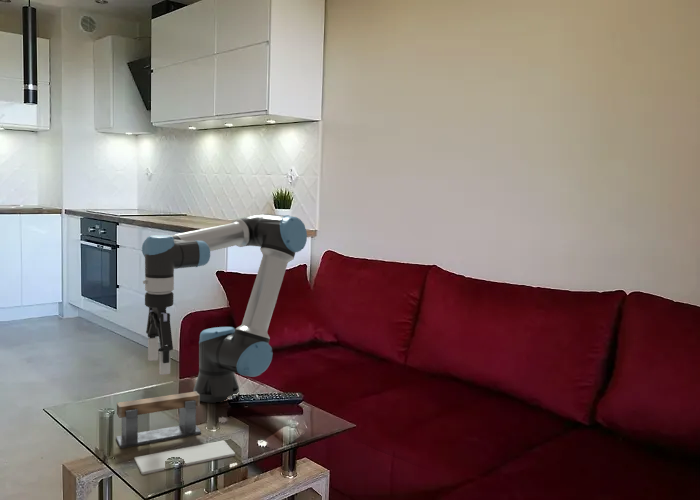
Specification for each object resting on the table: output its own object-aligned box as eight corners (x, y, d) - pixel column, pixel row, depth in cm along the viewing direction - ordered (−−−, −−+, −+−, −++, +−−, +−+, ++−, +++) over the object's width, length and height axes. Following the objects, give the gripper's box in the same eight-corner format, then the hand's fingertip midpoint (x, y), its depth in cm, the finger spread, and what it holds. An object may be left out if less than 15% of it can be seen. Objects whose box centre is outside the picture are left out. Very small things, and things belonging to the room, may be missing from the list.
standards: (194, 425, 180) (194, 393, 179) (200, 433, 175) (201, 400, 174) (116, 439, 169) (115, 404, 168) (120, 448, 163) (120, 412, 162)
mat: (223, 442, 170) (223, 440, 170) (235, 455, 162) (235, 453, 162) (134, 459, 157) (134, 457, 157) (142, 474, 150) (142, 472, 150)
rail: (196, 401, 178) (196, 391, 178) (199, 405, 175) (199, 395, 175) (116, 413, 167) (116, 402, 166) (119, 418, 164) (119, 407, 163)
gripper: (135, 284, 176) (135, 356, 178) (156, 301, 155) (155, 381, 157) (162, 283, 180) (161, 353, 182) (185, 299, 158) (184, 378, 161)
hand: (158, 366), depth 169 cm, fingers open, 13 cm apart
